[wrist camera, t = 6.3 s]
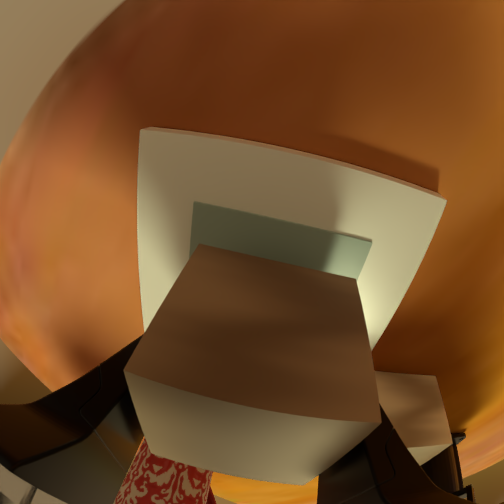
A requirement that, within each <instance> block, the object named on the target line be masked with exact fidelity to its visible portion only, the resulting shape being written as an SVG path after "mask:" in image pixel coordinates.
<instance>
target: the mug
mask: <svg viewBox="0 0 504 504" xmlns="http://www.w3.org/2000/svg"><path fill="white" fill-rule="evenodd" d="M212 473H213V471H209V470H205V469H201V468H198V467H194V466H190V465H187V464H183V463H180V462H176V461H173V460H170V459H167V458H164V457H161V456H158V455H155V454H152V453H151V452H150V449H149V447H148V444H147V441H146V439H144V441H143V443H142V445H141V448H140V450H139V452H138V454H137V456H136V458H135V460H134V462H133V464H132V466H131V468H130V470H129V472H128V474H127V476H126V478H125V479H124V482H123V484H122V486H121V488H120V490H119V493H118V495H117V497H116V499H115V501H114V503H113V504H216V501H215V498H214V495H213V493H212V490H211V487H210V482H211V477H212Z"/></svg>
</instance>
